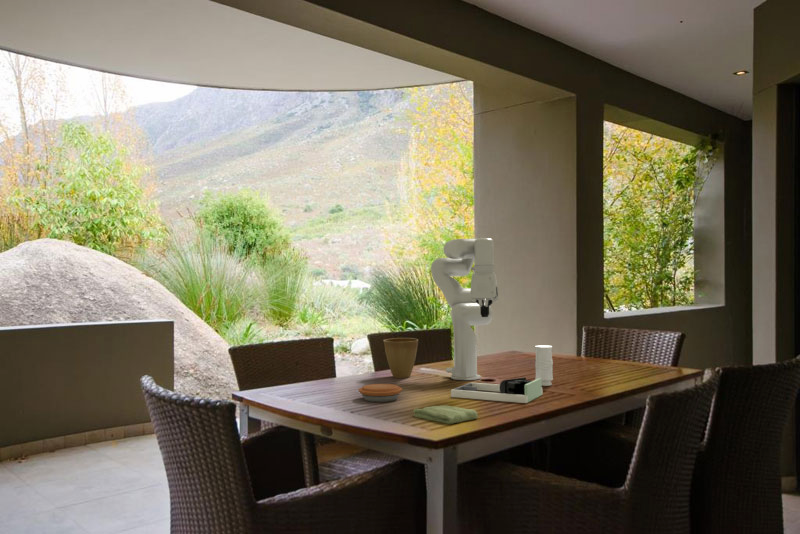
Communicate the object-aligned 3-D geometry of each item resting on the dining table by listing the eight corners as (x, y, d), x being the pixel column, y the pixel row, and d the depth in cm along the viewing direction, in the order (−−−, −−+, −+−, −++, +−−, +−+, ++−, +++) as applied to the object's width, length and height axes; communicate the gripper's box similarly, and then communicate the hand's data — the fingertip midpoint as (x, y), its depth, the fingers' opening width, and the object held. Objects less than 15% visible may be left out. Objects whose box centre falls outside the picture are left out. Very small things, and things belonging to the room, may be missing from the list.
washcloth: (440, 411, 218) (440, 401, 218) (480, 420, 204) (480, 409, 204) (410, 417, 210) (410, 406, 210) (449, 426, 196) (449, 415, 196)
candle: (551, 382, 268) (551, 345, 269) (554, 385, 262) (553, 347, 262) (534, 382, 269) (533, 345, 269) (536, 385, 262) (535, 347, 262)
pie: (393, 404, 229) (393, 389, 229) (351, 402, 234) (351, 387, 234) (408, 396, 243) (408, 382, 243) (369, 394, 249) (368, 380, 249)
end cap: (520, 395, 243) (519, 376, 243) (534, 398, 237) (533, 378, 237) (499, 398, 238) (499, 379, 238) (513, 401, 232) (512, 381, 232)
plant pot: (382, 374, 296) (382, 338, 296) (416, 373, 298) (415, 337, 298) (385, 379, 281) (385, 341, 281) (420, 378, 283) (420, 340, 283)
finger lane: (451, 396, 241) (450, 380, 241) (470, 389, 257) (470, 373, 257) (526, 403, 227) (526, 385, 227) (542, 394, 243) (542, 377, 243)
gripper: (462, 270, 263) (463, 317, 263) (498, 269, 256) (499, 317, 256) (470, 270, 270) (470, 315, 269) (505, 269, 262) (506, 316, 262)
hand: (484, 316), depth 262 cm, fingers closed
